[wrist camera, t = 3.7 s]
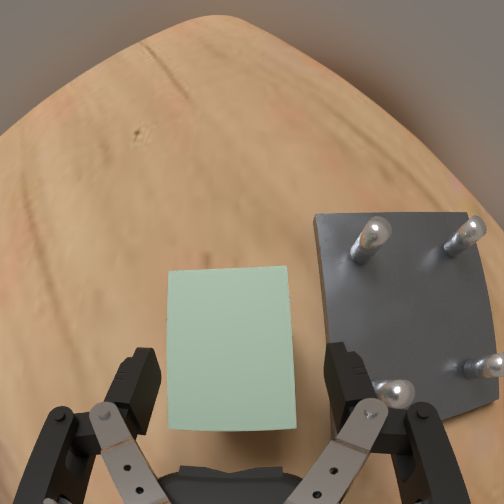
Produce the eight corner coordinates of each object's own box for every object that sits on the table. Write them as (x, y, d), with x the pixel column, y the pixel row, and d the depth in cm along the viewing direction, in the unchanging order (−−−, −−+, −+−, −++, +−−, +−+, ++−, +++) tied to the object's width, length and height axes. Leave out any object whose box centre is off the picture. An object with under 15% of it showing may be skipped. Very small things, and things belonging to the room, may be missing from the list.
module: (212, 404, 19) (168, 428, 10) (210, 317, 21) (168, 271, 12) (280, 402, 19) (296, 428, 9) (276, 314, 21) (286, 265, 12)
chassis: (331, 441, 17) (351, 460, 13) (313, 221, 23) (324, 183, 19) (490, 398, 17) (531, 397, 12) (460, 218, 23) (490, 188, 18)
